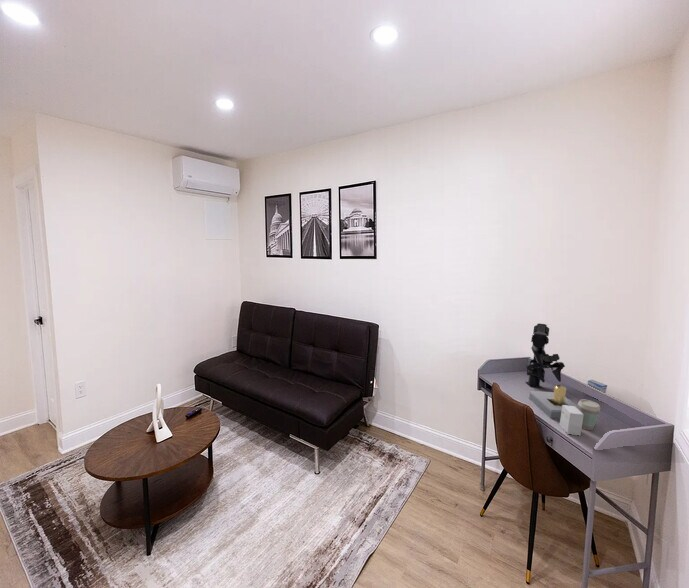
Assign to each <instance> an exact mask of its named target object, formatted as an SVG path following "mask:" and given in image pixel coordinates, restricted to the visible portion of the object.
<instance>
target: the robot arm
mask: <svg viewBox="0 0 689 588" xmlns="http://www.w3.org/2000/svg"><path fill="white" fill-rule="evenodd" d="M547 325H548V324H546V323H539V322H538V323H537V324H536V325H534V326H533V334H532V335H531V341H530V342H531V343H532V346H531V347H530V349H531V351H532V353H533V357H532V358H533V359H531V360H530V361H529V364H528V365H527V366H526V370H527V371H526V376H528V381H525V384H526V385H528V386H529V387H530V388H543V387H542V386H541V383H540V382H542V383H546V380H545V375H546V371H545V369H551V371H552V374H553V375H554V377H555V378H556V380H557V382H558V383H560V382H562V378H561V377H562V376H561V372H562V370H563V369H564V368H565V367H566V365H565V364H564V362H562V361H560V356H559V354H558V353H553V354H552V355H549V353H547V352H546V350H545V346H546V345H548V344H549V341H550V340H549V334H550V328H549V327H548V326H547Z"/></svg>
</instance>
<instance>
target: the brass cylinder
mask: <svg viewBox="0 0 689 588" xmlns="http://www.w3.org/2000/svg"><path fill="white" fill-rule="evenodd" d="M553 392H554V394H553V401H551V403H552V404H553V405H554V406H562V405H564V401H565V397H566V393H567V387H565V386H563V385H560V384H555V385H554V389H553Z"/></svg>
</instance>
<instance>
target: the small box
mask: <svg viewBox="0 0 689 588" xmlns="http://www.w3.org/2000/svg"><path fill="white" fill-rule="evenodd" d="M583 416H584V415H583V414H582V413H581V412H580V411H579V410H578V409H577V408H576V407H575V406H568V405H562V411H561V418H560V419H559V427H560V428H561V429H562V430H563V429H564V430H565V431H566V432H567V433H566V432H565V431H564V430H563V431H564V432H565V433H566V435H569V434H572V435H571V436H577V435H579V436H581V435H582V434H581V433H582V429H583V428H582V423H583Z"/></svg>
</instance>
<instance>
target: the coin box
mask: <svg viewBox="0 0 689 588" xmlns="http://www.w3.org/2000/svg"><path fill="white" fill-rule="evenodd" d="M553 394H554V391H541V390H540V391H538V390H537V391H536V390H535V391H533V390H530V391H529V397H528V399H529V400H530V401H531V402H532V403H533V404H534V405H535V406H536V407H538V409H540V411H542V412H543V413H544V414H545V415H546V416H547V417H548V418H549V417H550V418H549V419H554V418H555V419H557V420H560V418H561V411H562V406H554V405H553V404H552V401H553ZM564 405H568V406H575V407H576V408H577V409H579V405H578V404H576V403H574V402H573V401H571V399H569V398H567V396H565V401H564Z"/></svg>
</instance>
